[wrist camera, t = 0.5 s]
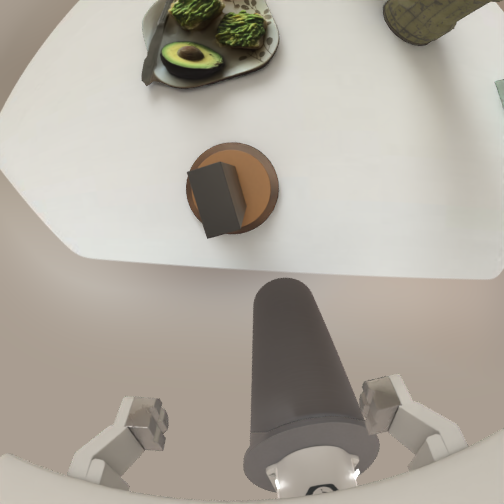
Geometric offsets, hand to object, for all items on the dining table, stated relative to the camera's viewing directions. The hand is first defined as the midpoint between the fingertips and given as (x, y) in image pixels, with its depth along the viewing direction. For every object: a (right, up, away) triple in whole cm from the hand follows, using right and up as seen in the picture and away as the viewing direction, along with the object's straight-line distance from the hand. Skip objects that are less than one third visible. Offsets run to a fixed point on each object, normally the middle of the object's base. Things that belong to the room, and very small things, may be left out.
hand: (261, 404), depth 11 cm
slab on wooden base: (-3, +13, +24) cm, 28 cm away
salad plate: (-6, +34, +20) cm, 40 cm away
